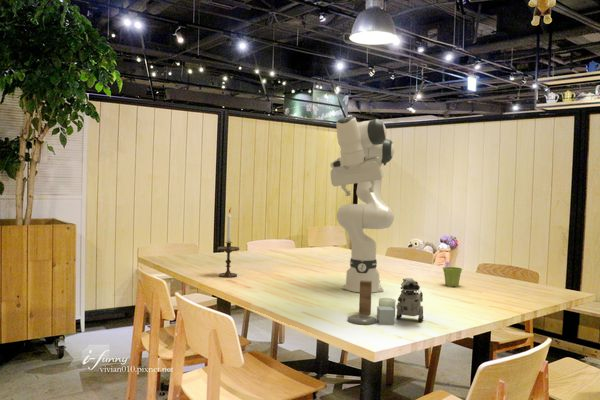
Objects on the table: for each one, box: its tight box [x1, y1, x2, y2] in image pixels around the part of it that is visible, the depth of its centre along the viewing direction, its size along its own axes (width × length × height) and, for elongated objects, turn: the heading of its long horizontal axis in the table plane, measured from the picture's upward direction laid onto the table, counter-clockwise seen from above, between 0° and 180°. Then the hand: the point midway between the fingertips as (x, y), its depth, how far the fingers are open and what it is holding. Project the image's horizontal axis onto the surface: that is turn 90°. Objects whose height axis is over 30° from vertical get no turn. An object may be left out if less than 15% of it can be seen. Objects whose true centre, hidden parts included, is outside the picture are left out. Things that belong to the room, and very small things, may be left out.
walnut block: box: [358, 280, 373, 316], centre depth 187 cm, size 4×4×12 cm
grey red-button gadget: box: [395, 277, 424, 323], centre depth 178 cm, size 9×12×15 cm
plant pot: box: [442, 266, 463, 288], centre depth 247 cm, size 9×9×9 cm
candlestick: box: [217, 207, 240, 279], centre depth 256 cm, size 11×11×35 cm
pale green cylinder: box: [378, 297, 396, 318], centre depth 185 cm, size 6×6×6 cm
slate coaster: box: [347, 314, 378, 326], centre depth 177 cm, size 10×10×1 cm
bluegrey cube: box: [376, 305, 396, 325], centre depth 176 cm, size 5×5×5 cm
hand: (359, 194), depth 197 cm, fingers open, 8 cm apart
